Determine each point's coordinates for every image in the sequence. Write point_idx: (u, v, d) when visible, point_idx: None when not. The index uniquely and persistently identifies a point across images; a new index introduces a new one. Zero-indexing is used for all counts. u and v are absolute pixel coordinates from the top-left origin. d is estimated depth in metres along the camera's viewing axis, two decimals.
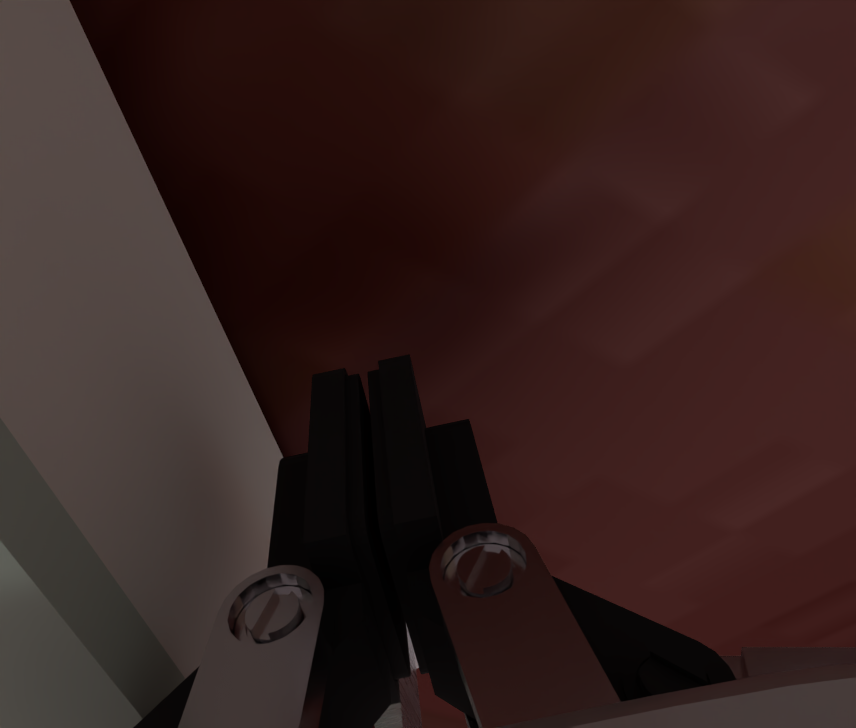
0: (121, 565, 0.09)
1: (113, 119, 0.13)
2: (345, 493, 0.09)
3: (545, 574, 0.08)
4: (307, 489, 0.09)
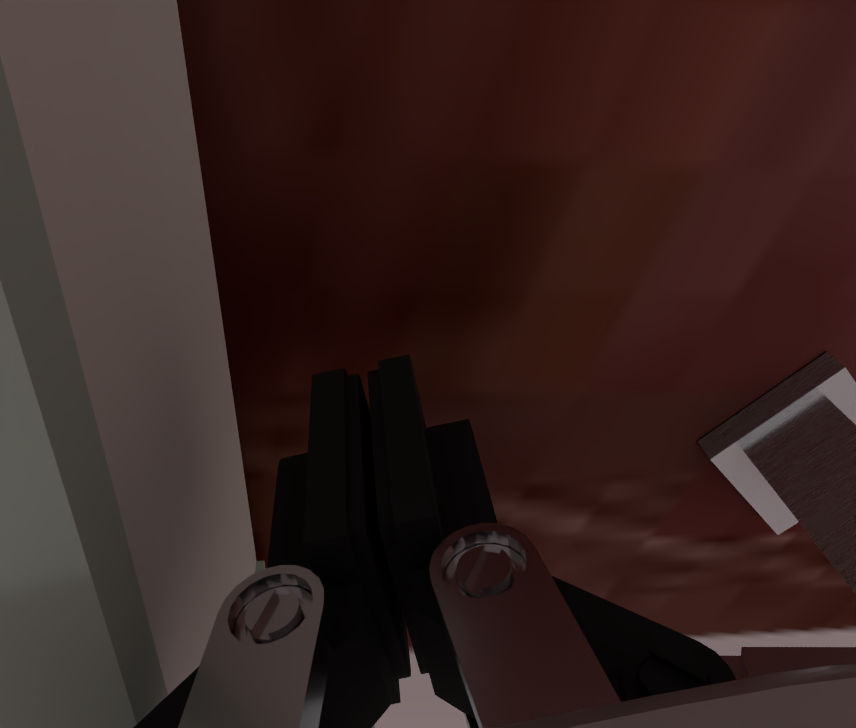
0: (131, 549, 0.09)
1: (183, 92, 0.13)
2: (345, 493, 0.09)
3: (545, 574, 0.08)
4: (307, 489, 0.09)
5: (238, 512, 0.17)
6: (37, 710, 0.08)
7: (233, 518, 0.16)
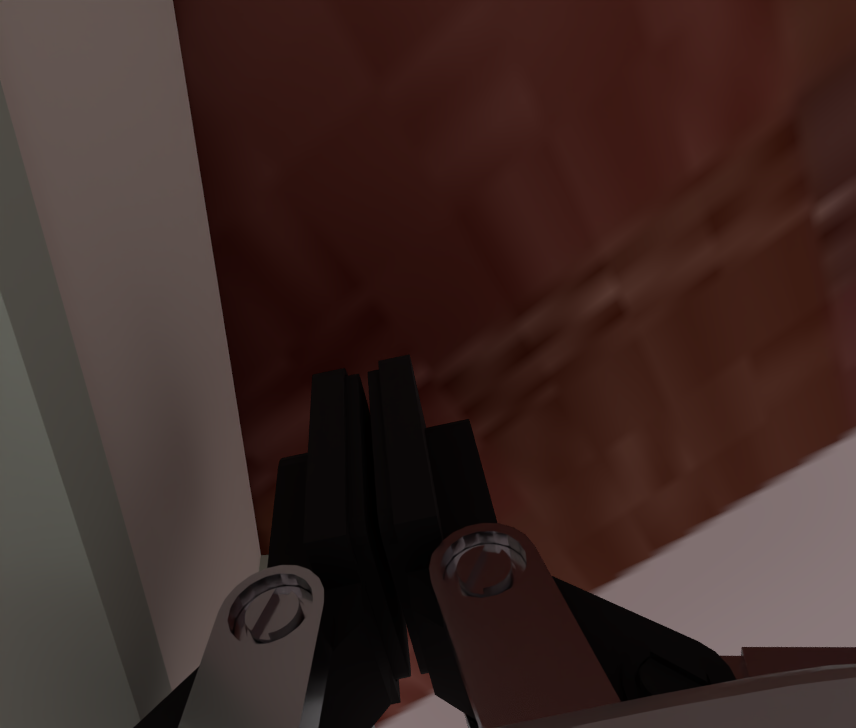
0: (131, 537, 0.09)
1: (179, 82, 0.13)
2: (345, 493, 0.09)
3: (545, 574, 0.08)
4: (307, 489, 0.09)
5: (241, 505, 0.17)
6: (37, 698, 0.08)
7: (236, 511, 0.16)
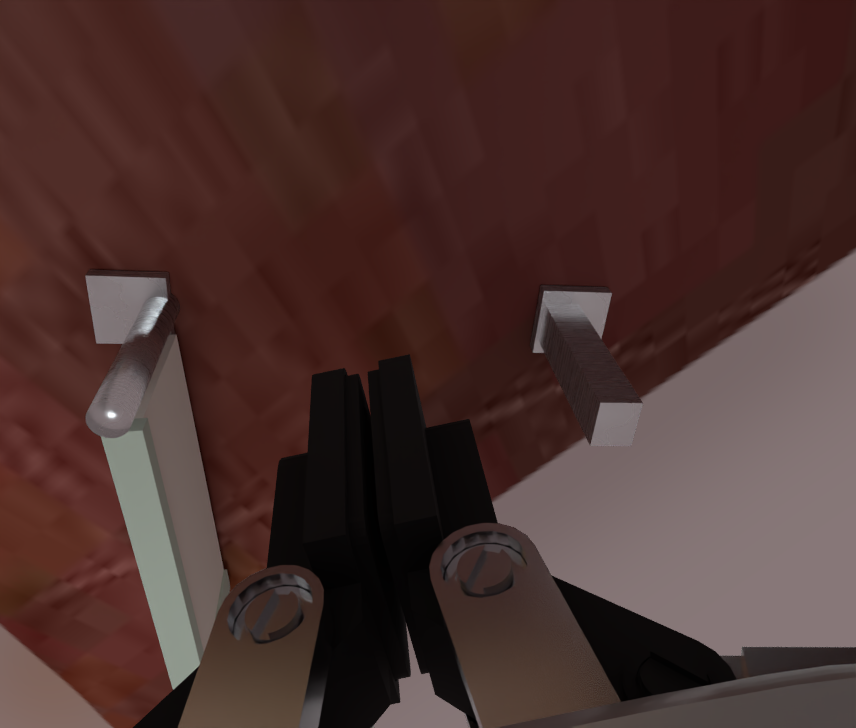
0: (183, 569, 0.38)
1: (193, 430, 0.42)
2: (344, 493, 0.09)
3: (545, 574, 0.08)
4: (306, 489, 0.09)
5: (214, 552, 0.46)
6: (165, 603, 0.37)
7: (212, 555, 0.46)
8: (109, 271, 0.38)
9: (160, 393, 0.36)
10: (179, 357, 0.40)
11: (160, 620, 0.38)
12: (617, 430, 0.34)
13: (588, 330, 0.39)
